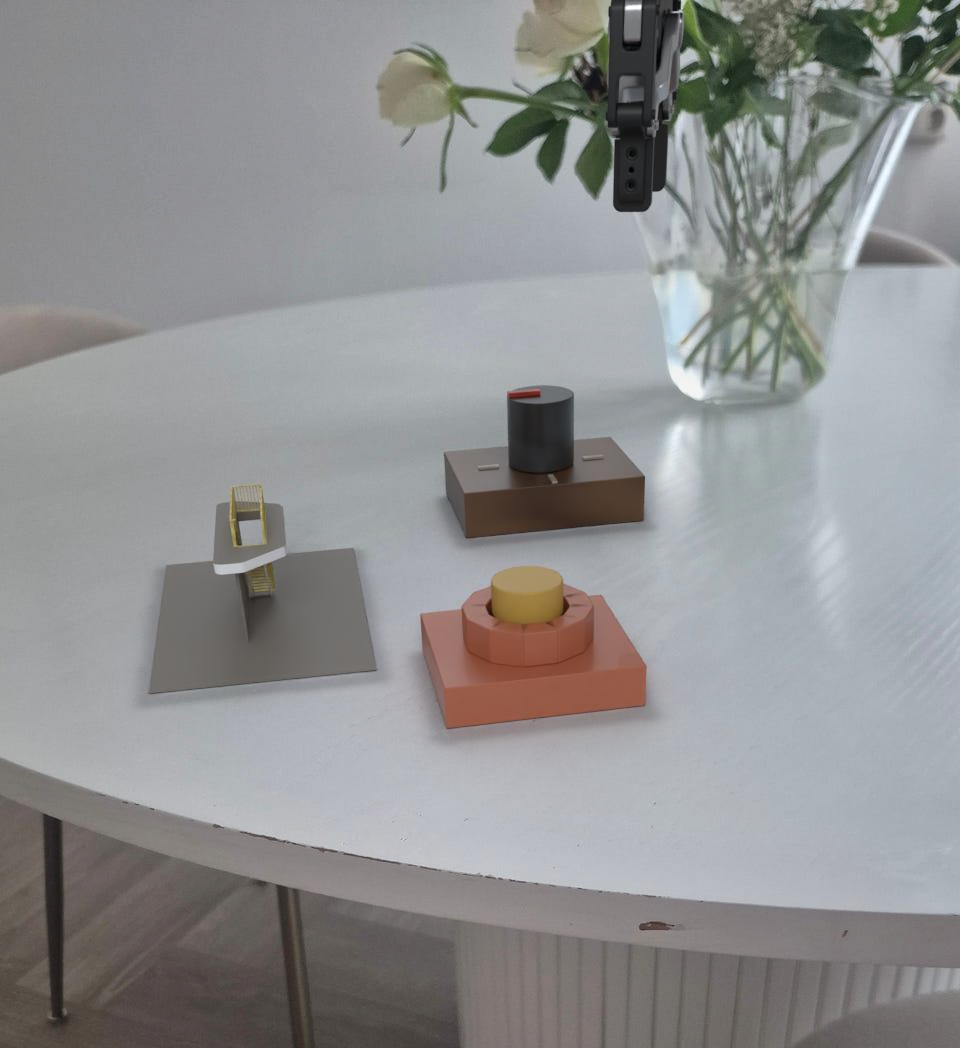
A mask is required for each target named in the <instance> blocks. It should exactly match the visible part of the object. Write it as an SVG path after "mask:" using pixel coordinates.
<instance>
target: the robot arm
mask: <svg viewBox="0 0 960 1048" xmlns="http://www.w3.org/2000/svg"><path fill="white" fill-rule="evenodd" d="M607 15H608V23H607V33H606V34H607V41H608V42H607V43H608V65H607V66H608V67H607V77H606V85H607V109H606V110H605V121H606V122H607V123H606V124H607V128H608V129H609V131H610V133H611V138H612V139H613V141H614V143H613V144H614V147H613V182H612V183H613V186H612V189H613V190H612V206H613V208H614V209H615V211H617V212H619V213H644V212H647V211H648V210H649V209H650V208H651V206H652V204H653V193H658V192H661V191H662V190H664V188H665V187H666V185H667V177H668V176H667V175H668V174H667V173H668V155H669V154H668V153H669V130H670V123H665V122H671V121H672V117H673V115H675V105H676V101H678V88H679V82H680V75H681V47H682V45H683V39H684V33H685V32H684V31H685V11H682V0H610V5H609V6H608V10H607Z"/></svg>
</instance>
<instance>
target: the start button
mask: <svg viewBox="0 0 960 1048" xmlns="http://www.w3.org/2000/svg"><path fill="white" fill-rule="evenodd" d="M563 583H564V578H563V575H562V574H561V573H560V572H558V571H557V570H555V569H553V568H549V567H545V566H538V565H520V566H513V567H507V568H504V569H502V570H500V571H498V572H497V573H495V574H493V576H492V577H491V580H490V586H491V599H492V614H493V616H494V617H495V618H497V619H499V620H502V621H507V622H516V623H524V624H528V623H538V622H547V621H550V620H552V619H555V618H557V617H560V616H561V614H562V612H563Z"/></svg>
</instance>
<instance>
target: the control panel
mask: <svg viewBox="0 0 960 1048" xmlns="http://www.w3.org/2000/svg"><path fill="white" fill-rule="evenodd" d="M443 461H444V463H443V464H444V478H445V479H444V481H445V494H446V496H447V498H448V500H449V503H450V505H451V507H452V510H453V512H454V514H455V516H456V518H457V520H458V524H459V525H460V527H461V530H462V531H463V534H464V536H465V538H467V539H469V538H478V537H489V536H498V535H508V534H519V533H530V532H538V531H548V530H549V531H550V530H559V529H560V530H561V529H569V528H570V529H571V528H579V527H590V526H600V525H610V524H621V523H630V522H639V521H644V520H645V497H646V496H645V494H646V493H645V492H646V489H645V488H646V475H645V474H644V473H643V472H642V471H641V469H639V467H637V465H636V464H635V463H634V462H633V461H632V460H631V458H630V457H629V456H628V455H627V454H626V452H624V450H623V449H622V448H621V447H620V446H619V445H618V443H617V442H616V441H615V440H614V439H613V437H611V436H604V437H602V436H601V437H593V438H581V439H574V462H573V464H572V465H571V466H570V467H568V468H566V469H563V470H560V471H555V472H547V473H531V472H523V471H519V470H516V469H513V468H512V467H510V465H509V460H508V445H505V446H504V445H503V446H494V447H493V446H492V447H483V448H471V449H460V450H449V451H444V452H443Z"/></svg>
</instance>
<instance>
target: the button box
mask: <svg viewBox="0 0 960 1048" xmlns="http://www.w3.org/2000/svg"><path fill="white" fill-rule="evenodd" d="M606 601H607V600H605V598H604V596H603V595H602V594H593V595H588V593H587V592H585V591H583V590H581V589H578V588H576V587H574V586H571V585H569V584H566V583H564V582H563V612H562V614H561V616H560V617H557V618H555V619H552V620H550V621H547V622H538V623H528V624H524V623H516V622H507V621H502V620H499V619H497V618H495V617H494V616H493V614H492V599H491V585H489V586H487V587H484V588H482V589H479V590H476V591H473V592H472V593H471V594H470V596H468V598H467V599H466V600H465V601H464V602H463V603H462V604H461V608H460V609H450V610H440V611H432V612H422V613H420V614H419V618H420V632H421V646H422V653H423V656H424V658H425V661H426V665H427V669H428V672H429V676H430V678H431V682H432V685H433V688H434V691H435V695H436V698H437V701H438V705H439V709H440V710H441V715H442V718H443V721H444V724H445V727H446V729H454V728H462V727H472V726H479V725H489V724H496V723H505V722H515V721H522V720H533V719H540V718H547V717H549V718H550V717H557V716H565V715H574V714H582V713H592V712H601V711H607V710H616V709H625V708H626V709H627V708H634V707H635V708H636V707H642V706H643V707H644V706H646V692H647V691H646V689H647V668H648V667H647V664H646V663H645V661H644V659H643V658H642V657H641V655H640V653H639V651H638V650H637V649H636V647H635V645H634V644H633V643H632V641H631V639H630V638H629V636H628V634H627V633H626V632H625V629H624V628H623V626H622V625H621V623H620V621H619V620H618V619H617V617H616V615H615V614H614V612H613V611H612V609H611V607H610V606H609V604H608V603H607V602H606Z"/></svg>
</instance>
